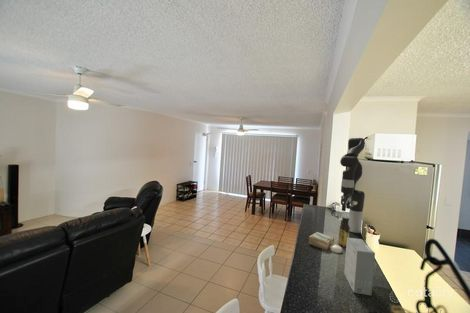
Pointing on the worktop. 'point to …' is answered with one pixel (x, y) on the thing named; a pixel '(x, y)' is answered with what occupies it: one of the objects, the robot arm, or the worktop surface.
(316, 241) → the plinth
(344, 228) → the sauce bottle
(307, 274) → the worktop surface
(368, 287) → the hard drive box
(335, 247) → the white round dome
